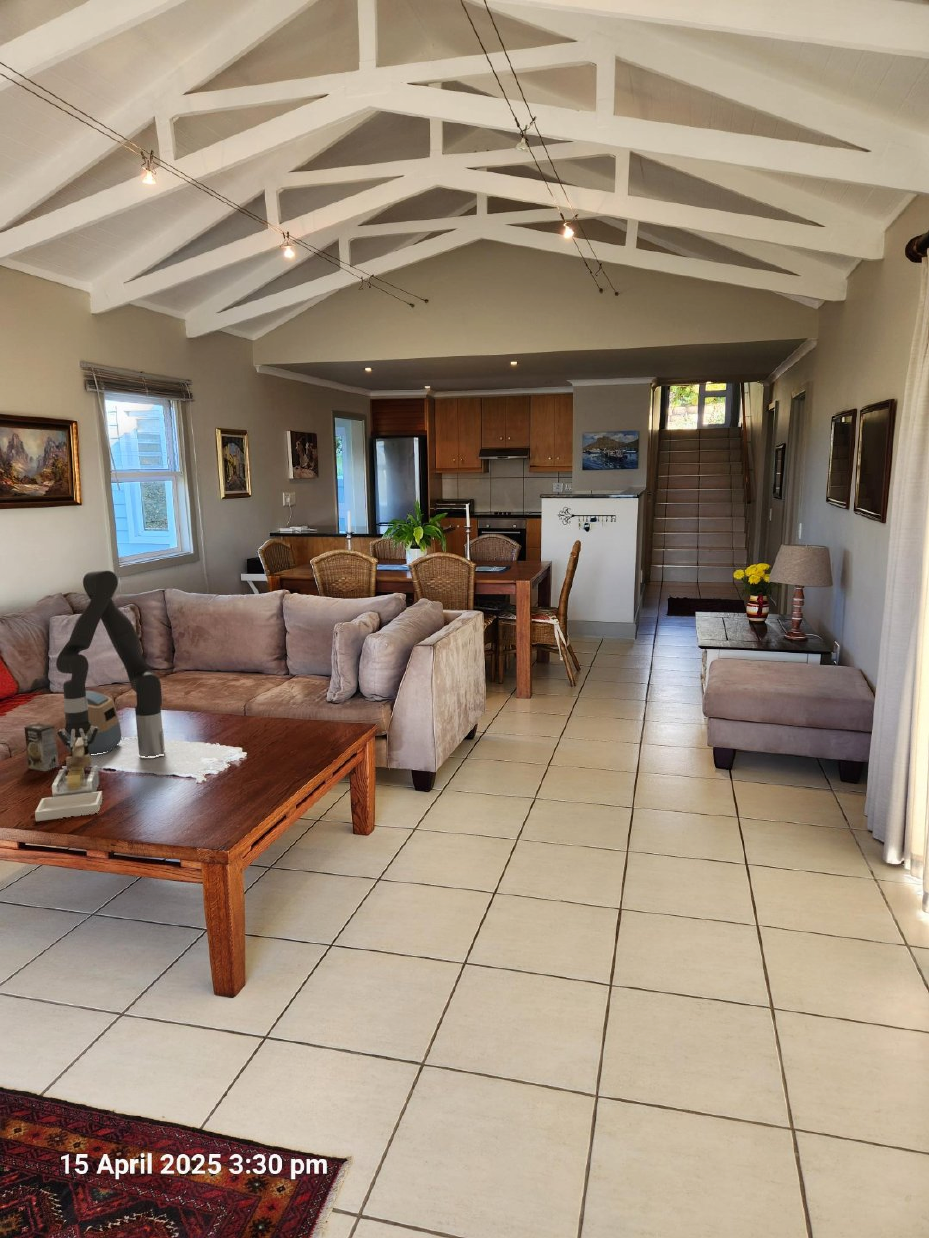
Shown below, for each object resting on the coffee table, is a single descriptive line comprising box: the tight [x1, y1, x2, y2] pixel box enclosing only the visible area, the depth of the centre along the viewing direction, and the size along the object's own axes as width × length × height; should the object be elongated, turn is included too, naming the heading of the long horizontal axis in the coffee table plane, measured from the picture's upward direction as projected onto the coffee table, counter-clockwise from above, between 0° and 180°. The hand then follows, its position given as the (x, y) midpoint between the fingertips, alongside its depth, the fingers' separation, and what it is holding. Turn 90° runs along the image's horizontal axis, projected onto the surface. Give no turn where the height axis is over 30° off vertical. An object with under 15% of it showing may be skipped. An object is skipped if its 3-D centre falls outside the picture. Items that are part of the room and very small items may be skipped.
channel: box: [51, 765, 100, 797], centre depth 272 cm, size 12×16×6 cm
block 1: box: [68, 766, 85, 781], centre depth 274 cm, size 4×4×4 cm
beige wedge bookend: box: [65, 737, 92, 770], centre depth 286 cm, size 8×14×7 cm, turn 17°
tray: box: [34, 790, 104, 822], centre depth 258 cm, size 18×12×3 cm, turn 108°
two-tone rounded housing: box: [65, 690, 122, 756], centre depth 316 cm, size 17×17×23 cm
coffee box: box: [23, 722, 60, 772], centre depth 298 cm, size 9×6×16 cm
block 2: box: [66, 771, 83, 787], centre depth 270 cm, size 4×4×4 cm
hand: (80, 755), depth 285 cm, fingers closed on beige wedge bookend, 3 cm apart
